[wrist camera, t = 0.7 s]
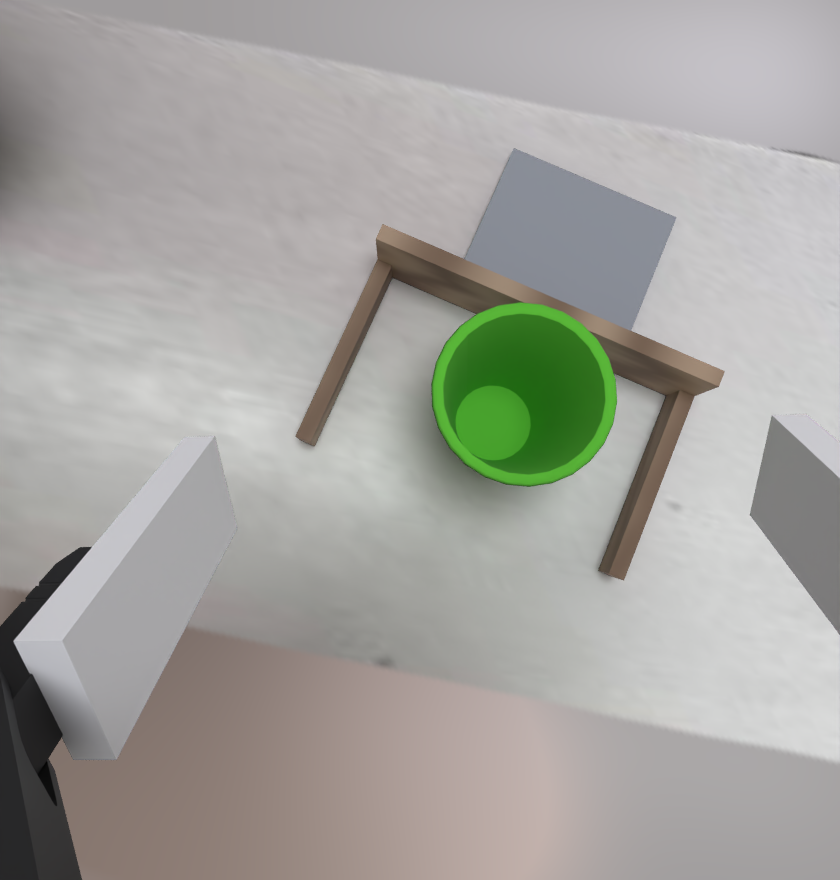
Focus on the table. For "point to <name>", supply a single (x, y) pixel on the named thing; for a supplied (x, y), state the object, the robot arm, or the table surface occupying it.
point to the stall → (490, 289)
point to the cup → (524, 394)
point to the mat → (571, 239)
